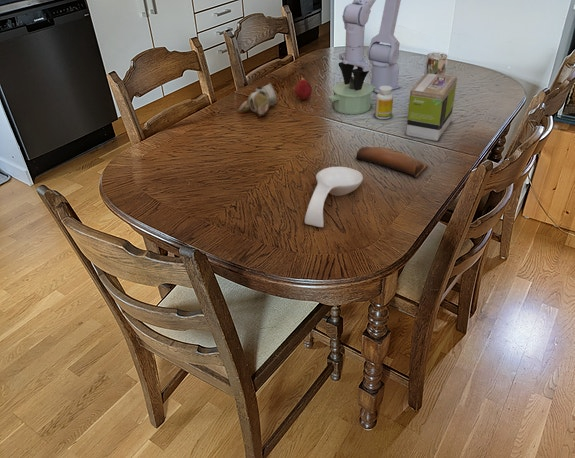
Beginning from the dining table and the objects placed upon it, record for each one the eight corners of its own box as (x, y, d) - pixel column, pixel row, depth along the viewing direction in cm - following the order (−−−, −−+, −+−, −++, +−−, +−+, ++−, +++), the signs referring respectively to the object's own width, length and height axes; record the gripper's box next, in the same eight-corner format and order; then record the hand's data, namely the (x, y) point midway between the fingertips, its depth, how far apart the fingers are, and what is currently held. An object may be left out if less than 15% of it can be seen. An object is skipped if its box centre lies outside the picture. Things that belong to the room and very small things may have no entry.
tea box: (420, 116, 161) (426, 71, 152) (451, 122, 157) (459, 76, 148) (404, 135, 151) (410, 88, 142) (437, 142, 147) (445, 94, 138)
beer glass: (443, 96, 173) (450, 53, 164) (439, 104, 168) (445, 60, 159) (423, 94, 176) (428, 51, 167) (418, 101, 171) (424, 57, 162)
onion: (312, 97, 178) (312, 74, 173) (311, 103, 173) (311, 81, 168) (296, 97, 178) (295, 75, 173) (294, 103, 174) (294, 81, 169)
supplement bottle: (371, 115, 164) (373, 86, 158) (385, 111, 165) (387, 83, 160) (381, 121, 160) (383, 92, 154) (394, 117, 161) (397, 88, 156)
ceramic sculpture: (283, 80, 167) (259, 99, 157) (285, 104, 172) (262, 124, 163) (256, 76, 171) (231, 94, 162) (259, 100, 177) (235, 118, 167)
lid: (325, 89, 169) (325, 75, 166) (357, 81, 174) (358, 68, 171) (347, 102, 159) (347, 88, 156) (381, 93, 164) (382, 79, 161)
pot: (320, 106, 171) (320, 89, 167) (362, 95, 177) (363, 78, 174) (340, 119, 162) (340, 101, 158) (384, 106, 168) (385, 89, 165)
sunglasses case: (428, 163, 136) (425, 150, 130) (417, 185, 134) (414, 172, 129) (370, 147, 145) (365, 133, 139) (359, 166, 143) (354, 154, 138)
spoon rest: (325, 174, 135) (325, 150, 130) (367, 181, 131) (369, 157, 127) (291, 222, 118) (290, 197, 113) (338, 233, 114) (339, 207, 109)
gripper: (331, 41, 161) (330, 82, 169) (357, 53, 151) (355, 96, 159) (349, 37, 164) (348, 78, 172) (376, 49, 153) (373, 91, 161)
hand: (352, 86), depth 165 cm, fingers open, 6 cm apart
